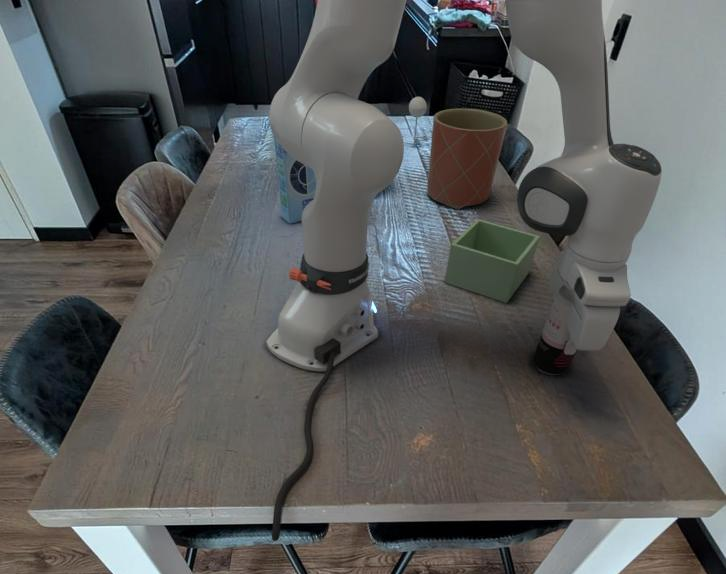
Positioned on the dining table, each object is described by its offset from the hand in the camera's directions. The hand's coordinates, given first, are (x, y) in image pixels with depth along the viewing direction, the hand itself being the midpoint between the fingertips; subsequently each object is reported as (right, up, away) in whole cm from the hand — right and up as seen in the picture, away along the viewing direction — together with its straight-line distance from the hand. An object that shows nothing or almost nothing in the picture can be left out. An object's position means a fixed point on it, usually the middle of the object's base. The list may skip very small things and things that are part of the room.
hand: (562, 337), depth 83 cm
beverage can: (0, -4, +5) cm, 6 cm away
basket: (-7, +18, +25) cm, 31 cm away
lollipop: (-17, +80, +83) cm, 117 cm away
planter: (-7, +50, +55) cm, 75 cm away
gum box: (-47, +41, +46) cm, 77 cm away
